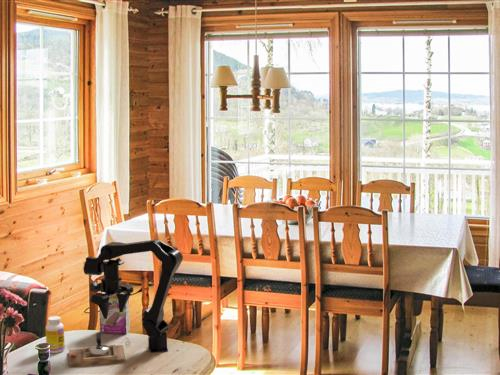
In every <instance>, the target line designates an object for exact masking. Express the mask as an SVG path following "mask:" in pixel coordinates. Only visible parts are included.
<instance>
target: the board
mask: <svg viewBox="0 0 500 375" xmlns="http://www.w3.org/2000/svg"><path fill="white" fill-rule="evenodd" d="M108 346H109V355H108V356H102V357H91V356H90V347H91V346H86V347H81V348H73V349H68V367H69V368H77V367H88V366H97V365H98V366H99V365H100V366H101V365H110V364H119V363H120V364H122V363H126V354H125V349H124V344H122V345H121V344H119V345H116V344H112V345H108Z"/></svg>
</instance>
